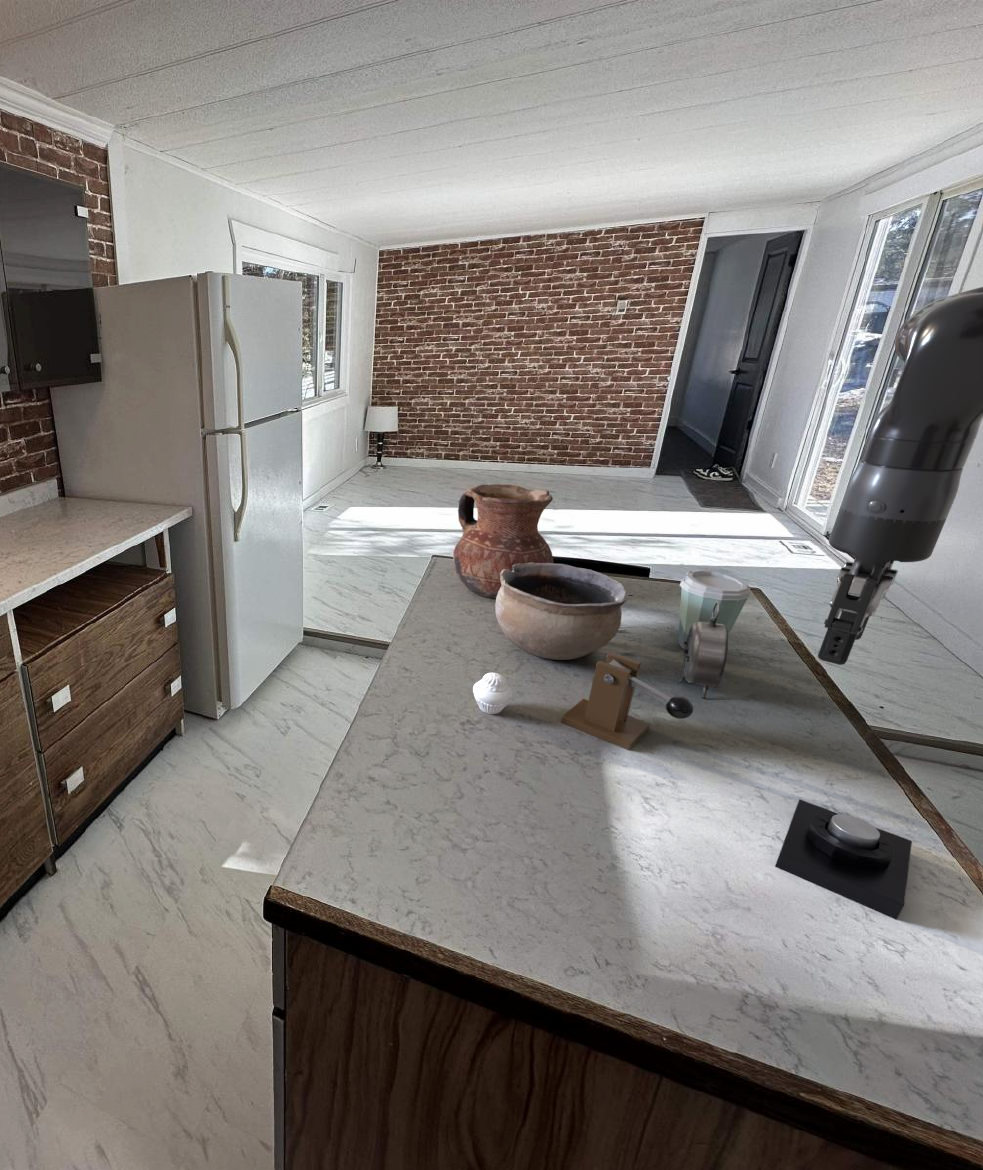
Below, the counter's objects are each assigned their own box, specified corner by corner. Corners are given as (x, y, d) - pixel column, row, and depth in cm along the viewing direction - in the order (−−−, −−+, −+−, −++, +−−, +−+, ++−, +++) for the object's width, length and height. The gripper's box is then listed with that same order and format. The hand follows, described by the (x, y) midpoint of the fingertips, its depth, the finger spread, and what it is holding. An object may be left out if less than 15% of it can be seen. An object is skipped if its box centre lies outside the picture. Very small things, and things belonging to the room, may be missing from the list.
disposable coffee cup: (741, 649, 121) (763, 578, 115) (719, 667, 116) (742, 593, 110) (678, 631, 129) (696, 563, 124) (655, 646, 124) (673, 577, 118)
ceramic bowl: (492, 619, 139) (501, 555, 133) (606, 634, 129) (621, 567, 124) (487, 665, 120) (497, 593, 115) (619, 686, 111) (637, 610, 105)
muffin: (488, 696, 110) (493, 661, 108) (517, 713, 105) (523, 677, 103) (462, 705, 108) (467, 670, 105) (491, 723, 103) (497, 687, 100)
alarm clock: (715, 704, 105) (742, 617, 99) (676, 696, 108) (700, 611, 101) (710, 675, 113) (735, 593, 107) (674, 668, 116) (695, 588, 110)
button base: (794, 812, 82) (803, 787, 80) (905, 854, 75) (917, 829, 73) (774, 866, 74) (785, 840, 72) (896, 920, 67) (910, 892, 65)
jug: (545, 579, 158) (561, 482, 148) (550, 612, 140) (569, 504, 131) (452, 570, 167) (462, 478, 157) (446, 600, 149) (457, 498, 140)
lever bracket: (648, 729, 99) (666, 665, 95) (628, 750, 95) (646, 683, 90) (582, 704, 107) (595, 643, 102) (560, 722, 102) (573, 659, 98)
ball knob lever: (689, 717, 92) (700, 702, 90) (681, 726, 90) (693, 710, 89) (607, 671, 100) (616, 656, 98) (598, 678, 98) (607, 663, 96)
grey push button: (829, 820, 76) (834, 809, 75) (876, 838, 73) (881, 826, 72) (824, 837, 73) (829, 826, 72) (872, 856, 70) (878, 844, 70)
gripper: (939, 530, 57) (875, 684, 63) (955, 500, 65) (897, 639, 71) (827, 515, 62) (778, 658, 68) (855, 489, 70) (809, 619, 76)
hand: (839, 648), depth 69 cm, fingers open, 8 cm apart
